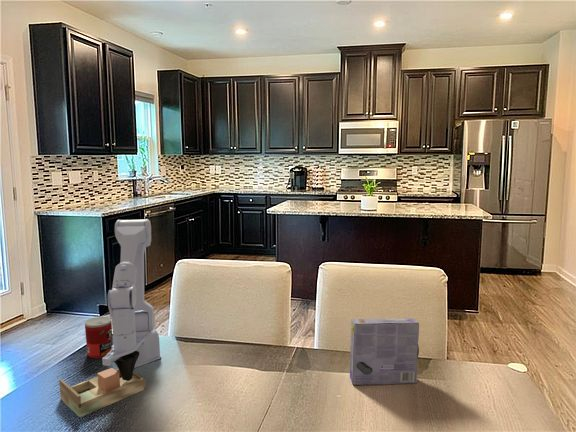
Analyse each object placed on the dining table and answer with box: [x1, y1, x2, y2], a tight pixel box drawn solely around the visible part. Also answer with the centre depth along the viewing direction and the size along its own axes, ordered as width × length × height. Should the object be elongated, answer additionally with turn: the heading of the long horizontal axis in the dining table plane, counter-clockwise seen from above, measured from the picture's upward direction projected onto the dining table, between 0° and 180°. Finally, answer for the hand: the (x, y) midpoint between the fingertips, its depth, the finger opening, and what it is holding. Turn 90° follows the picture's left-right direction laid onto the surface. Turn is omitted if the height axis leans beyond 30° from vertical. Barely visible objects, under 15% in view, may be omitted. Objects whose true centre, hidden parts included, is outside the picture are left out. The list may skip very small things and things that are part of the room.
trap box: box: [58, 368, 147, 418], centre depth 117 cm, size 18×12×5 cm
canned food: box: [84, 316, 114, 359], centre depth 141 cm, size 8×8×11 cm
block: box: [96, 367, 120, 392], centre depth 116 cm, size 4×4×4 cm
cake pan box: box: [349, 317, 420, 386], centre depth 122 cm, size 19×5×18 cm, turn 94°
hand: (127, 379), depth 118 cm, fingers closed
